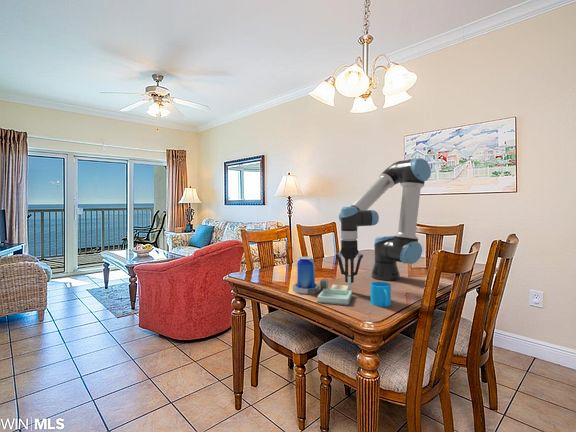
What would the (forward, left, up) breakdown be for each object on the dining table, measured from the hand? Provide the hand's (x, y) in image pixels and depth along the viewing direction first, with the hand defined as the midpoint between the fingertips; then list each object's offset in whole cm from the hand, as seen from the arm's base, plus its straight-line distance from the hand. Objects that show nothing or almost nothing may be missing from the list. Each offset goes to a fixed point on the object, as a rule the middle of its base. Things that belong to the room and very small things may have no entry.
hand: (349, 289), depth 147 cm
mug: (-15, +14, -2) cm, 21 cm away
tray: (+5, +12, -2) cm, 13 cm away
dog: (+12, 0, -2) cm, 12 cm away
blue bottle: (+21, +2, -2) cm, 21 cm away
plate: (+5, 0, -2) cm, 5 cm away
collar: (+21, +2, -2) cm, 21 cm away
